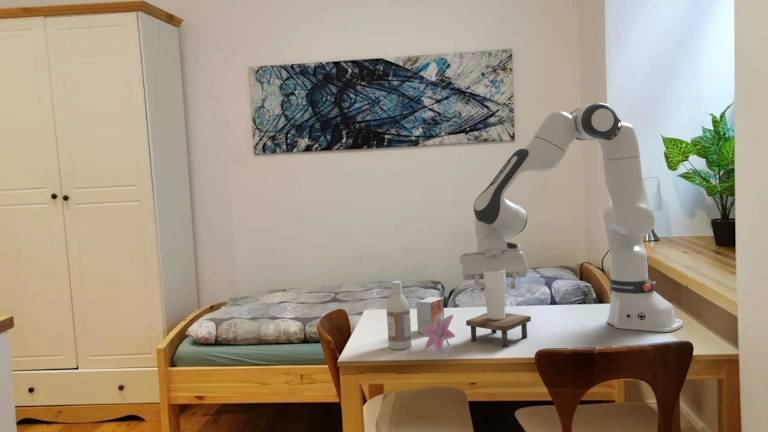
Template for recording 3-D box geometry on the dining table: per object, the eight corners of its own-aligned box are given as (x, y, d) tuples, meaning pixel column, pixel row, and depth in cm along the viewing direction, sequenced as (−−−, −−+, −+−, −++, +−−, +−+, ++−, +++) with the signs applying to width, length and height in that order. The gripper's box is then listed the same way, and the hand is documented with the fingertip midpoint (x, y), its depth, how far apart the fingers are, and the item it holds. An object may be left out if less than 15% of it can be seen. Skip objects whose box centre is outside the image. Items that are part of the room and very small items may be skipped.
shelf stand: (531, 337, 205) (530, 316, 204) (506, 348, 194) (505, 326, 194) (492, 331, 214) (491, 311, 214) (467, 341, 204) (466, 320, 203)
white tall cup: (507, 321, 200) (505, 271, 199) (484, 321, 201) (482, 272, 200) (508, 315, 206) (506, 267, 205) (485, 315, 208) (483, 268, 207)
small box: (432, 335, 214) (430, 302, 213) (417, 333, 217) (415, 301, 216) (445, 329, 220) (443, 297, 219) (431, 327, 223) (429, 296, 222)
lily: (421, 346, 206) (410, 323, 201) (454, 328, 207) (444, 304, 203) (436, 368, 195) (425, 344, 191) (471, 349, 197) (461, 325, 192)
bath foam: (384, 347, 203) (380, 282, 202) (402, 342, 207) (399, 278, 205) (397, 351, 198) (393, 285, 196) (416, 346, 202) (412, 281, 200)
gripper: (459, 247, 209) (463, 284, 200) (525, 244, 208) (531, 281, 199) (459, 259, 214) (462, 296, 205) (523, 256, 213) (529, 292, 204)
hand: (497, 288), depth 202 cm, fingers open, 8 cm apart
